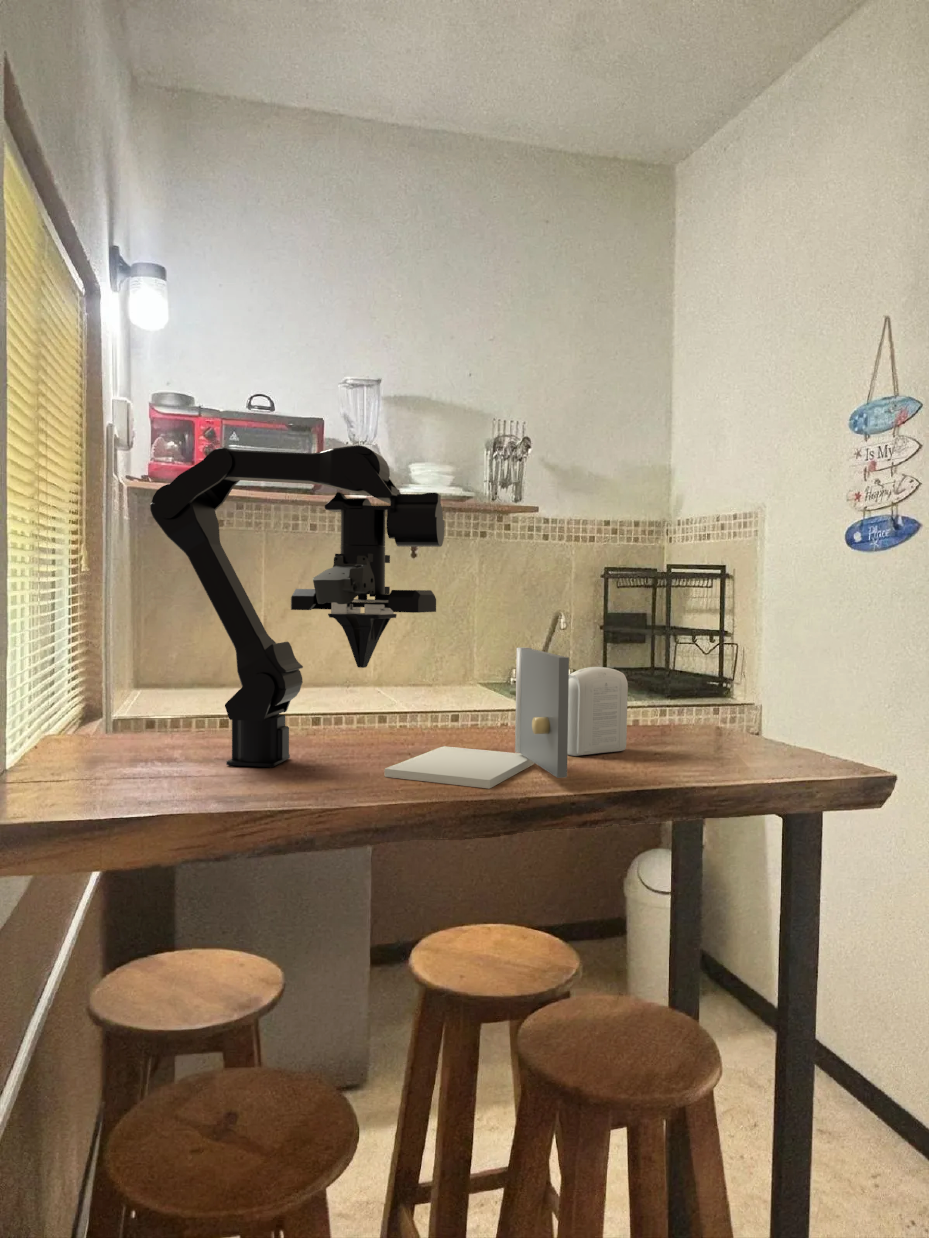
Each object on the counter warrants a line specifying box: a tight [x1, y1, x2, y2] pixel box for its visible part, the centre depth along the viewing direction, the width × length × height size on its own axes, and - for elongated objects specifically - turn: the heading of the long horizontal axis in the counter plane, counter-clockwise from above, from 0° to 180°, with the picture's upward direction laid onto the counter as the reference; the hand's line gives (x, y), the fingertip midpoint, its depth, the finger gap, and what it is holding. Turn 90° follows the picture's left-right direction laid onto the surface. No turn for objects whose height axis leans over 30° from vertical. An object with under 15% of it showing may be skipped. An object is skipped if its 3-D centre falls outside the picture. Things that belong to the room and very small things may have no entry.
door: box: [514, 647, 570, 779], centre depth 107 cm, size 3×17×14 cm, turn 13°
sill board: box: [384, 745, 536, 789], centre depth 110 cm, size 14×17×1 cm
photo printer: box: [567, 666, 629, 757], centre depth 123 cm, size 10×4×12 cm, turn 123°
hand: (362, 667), depth 111 cm, fingers closed
